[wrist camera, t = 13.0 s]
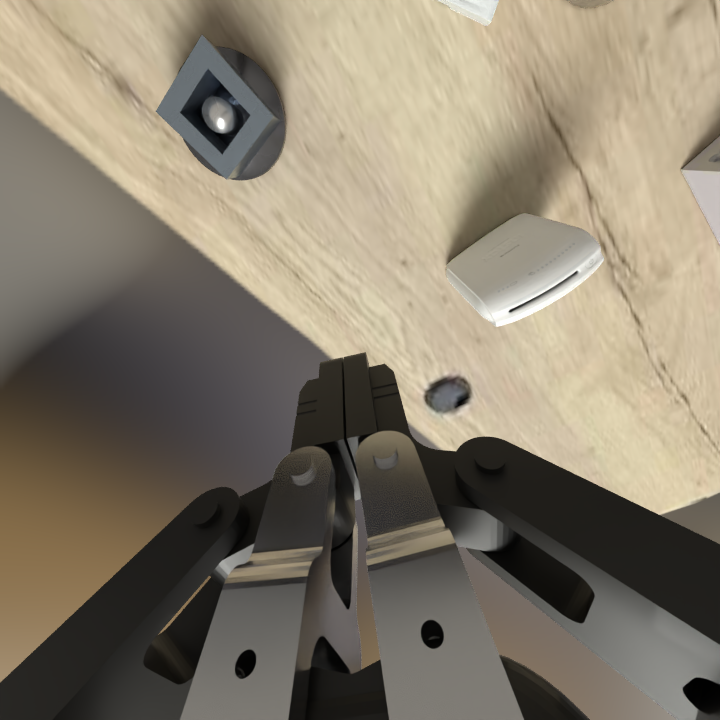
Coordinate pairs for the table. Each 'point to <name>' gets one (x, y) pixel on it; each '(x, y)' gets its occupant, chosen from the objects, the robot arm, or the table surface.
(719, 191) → the game console
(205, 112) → the hub
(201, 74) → the hollow square housing
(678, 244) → the table surface
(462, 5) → the external hard drive
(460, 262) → the photo printer
